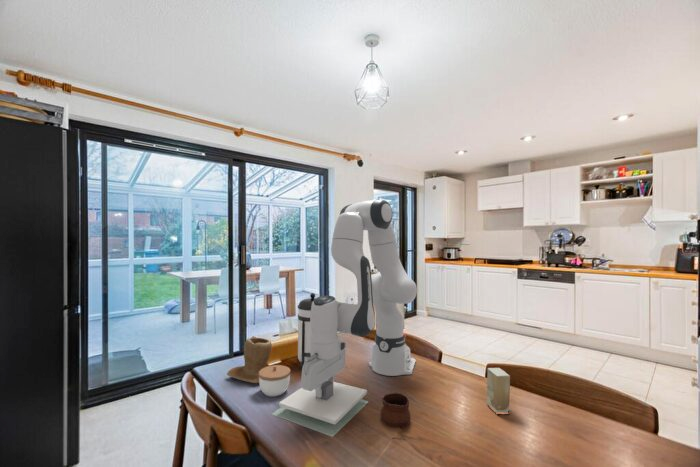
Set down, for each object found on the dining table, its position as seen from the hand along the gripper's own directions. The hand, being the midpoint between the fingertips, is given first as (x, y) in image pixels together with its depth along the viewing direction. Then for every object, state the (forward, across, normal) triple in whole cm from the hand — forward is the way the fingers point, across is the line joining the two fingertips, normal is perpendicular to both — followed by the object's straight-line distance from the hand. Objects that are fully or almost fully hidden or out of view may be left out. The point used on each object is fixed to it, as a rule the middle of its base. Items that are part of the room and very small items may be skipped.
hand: (324, 392), depth 102 cm
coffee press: (+6, +28, +24) cm, 37 cm away
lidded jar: (+5, 0, +21) cm, 21 cm away
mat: (+5, -1, +1) cm, 5 cm away
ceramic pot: (+6, +5, -22) cm, 23 cm away
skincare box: (+6, +27, -48) cm, 55 cm away
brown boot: (+5, +5, +36) cm, 37 cm away
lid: (+2, 0, 0) cm, 2 cm away
